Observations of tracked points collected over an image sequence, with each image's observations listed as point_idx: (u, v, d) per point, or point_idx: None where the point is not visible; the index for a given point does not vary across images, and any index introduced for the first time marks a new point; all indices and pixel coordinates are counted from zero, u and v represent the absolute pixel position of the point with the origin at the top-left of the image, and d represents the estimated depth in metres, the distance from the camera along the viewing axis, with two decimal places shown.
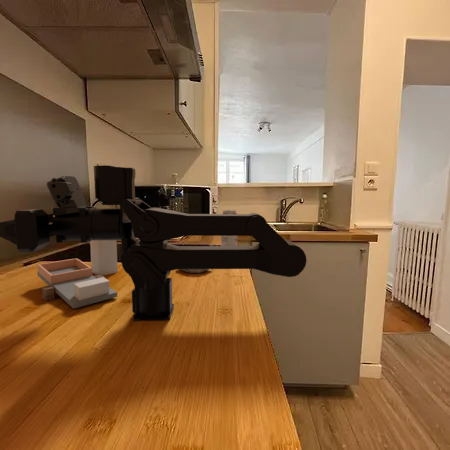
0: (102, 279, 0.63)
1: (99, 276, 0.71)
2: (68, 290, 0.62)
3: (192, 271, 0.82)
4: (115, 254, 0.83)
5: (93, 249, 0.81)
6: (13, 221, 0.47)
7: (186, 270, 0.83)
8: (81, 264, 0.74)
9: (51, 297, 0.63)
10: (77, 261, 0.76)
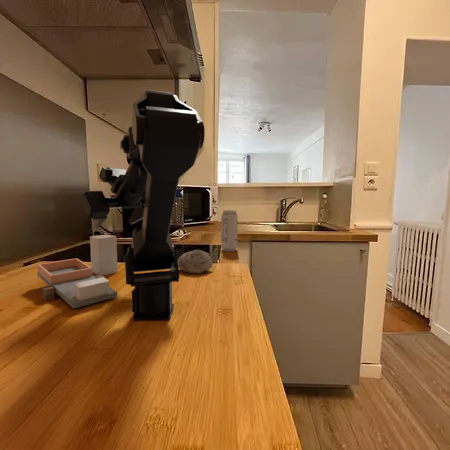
0: (102, 279, 0.63)
1: (99, 276, 0.71)
2: (68, 290, 0.62)
3: (192, 271, 0.82)
4: (115, 254, 0.83)
5: (93, 249, 0.81)
6: None
7: (186, 270, 0.82)
8: (81, 264, 0.74)
9: (51, 297, 0.63)
10: (77, 261, 0.76)
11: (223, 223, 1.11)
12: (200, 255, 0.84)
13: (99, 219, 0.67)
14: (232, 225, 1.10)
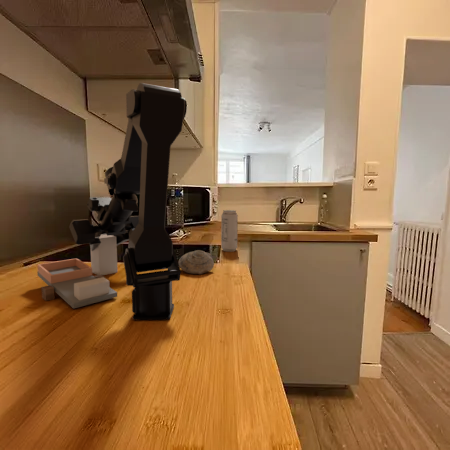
0: (102, 279, 0.63)
1: (99, 276, 0.71)
2: (68, 290, 0.62)
3: (193, 272, 0.81)
4: (115, 254, 0.83)
5: None
6: None
7: (187, 271, 0.82)
8: (81, 264, 0.74)
9: (51, 297, 0.63)
10: (77, 261, 0.76)
11: (223, 223, 1.11)
12: (201, 256, 0.83)
13: (93, 244, 0.76)
14: (232, 225, 1.10)
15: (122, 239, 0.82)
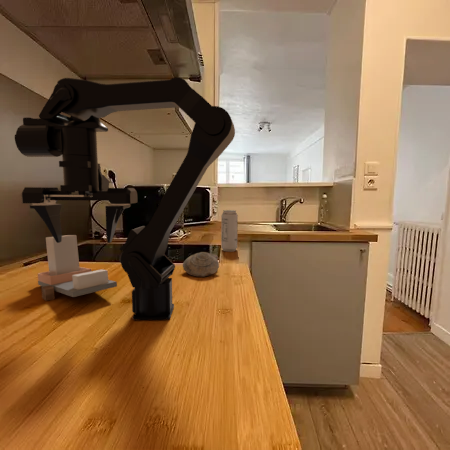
0: (100, 270, 0.63)
1: None
2: (68, 286, 0.62)
3: (196, 274, 0.79)
4: (76, 256, 0.71)
5: (49, 251, 0.69)
6: None
7: (190, 273, 0.80)
8: (81, 269, 0.74)
9: (51, 297, 0.63)
10: None
11: (223, 223, 1.11)
12: (205, 258, 0.80)
13: (36, 209, 0.52)
14: (232, 225, 1.10)
15: None
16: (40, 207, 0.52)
